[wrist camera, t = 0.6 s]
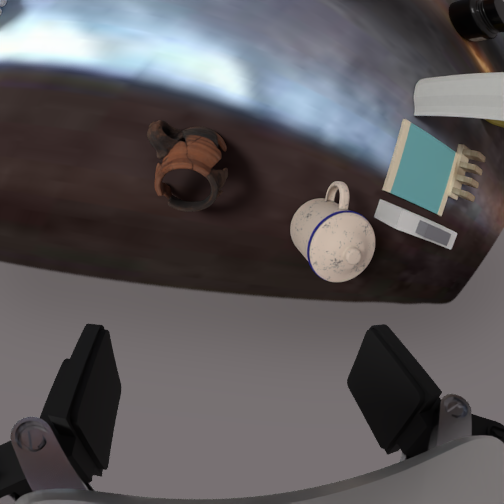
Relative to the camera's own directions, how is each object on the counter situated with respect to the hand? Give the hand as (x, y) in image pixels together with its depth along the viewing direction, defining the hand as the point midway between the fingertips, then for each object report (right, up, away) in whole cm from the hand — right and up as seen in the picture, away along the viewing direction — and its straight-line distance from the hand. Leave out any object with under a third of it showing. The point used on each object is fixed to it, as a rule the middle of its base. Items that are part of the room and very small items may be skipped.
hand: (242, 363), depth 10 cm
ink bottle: (+41, +49, +22) cm, 67 cm away
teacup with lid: (+10, +9, +32) cm, 35 cm away
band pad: (+29, +17, +32) cm, 46 cm away
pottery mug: (-8, +16, +26) cm, 32 cm away
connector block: (+26, +9, +35) cm, 44 cm away
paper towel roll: (+28, +29, +27) cm, 49 cm away
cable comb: (+37, +18, +33) cm, 53 cm away
